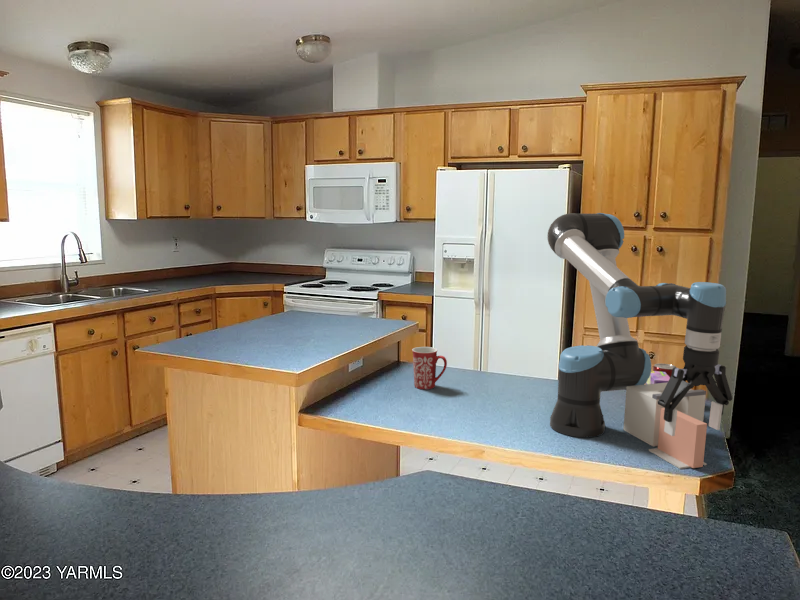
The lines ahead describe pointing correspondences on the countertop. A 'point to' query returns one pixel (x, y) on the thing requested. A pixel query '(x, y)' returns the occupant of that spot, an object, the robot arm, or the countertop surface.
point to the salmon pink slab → (684, 439)
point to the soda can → (664, 368)
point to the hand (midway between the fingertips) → (691, 430)
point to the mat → (670, 458)
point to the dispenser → (656, 410)
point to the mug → (426, 367)
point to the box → (658, 377)
